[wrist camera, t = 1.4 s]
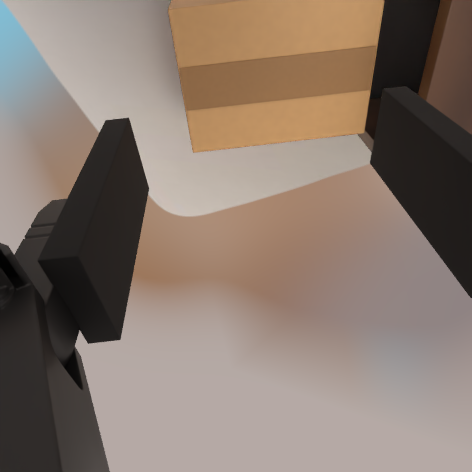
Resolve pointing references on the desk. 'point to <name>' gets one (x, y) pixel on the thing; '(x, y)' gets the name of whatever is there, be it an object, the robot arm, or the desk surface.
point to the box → (274, 68)
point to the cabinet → (442, 69)
